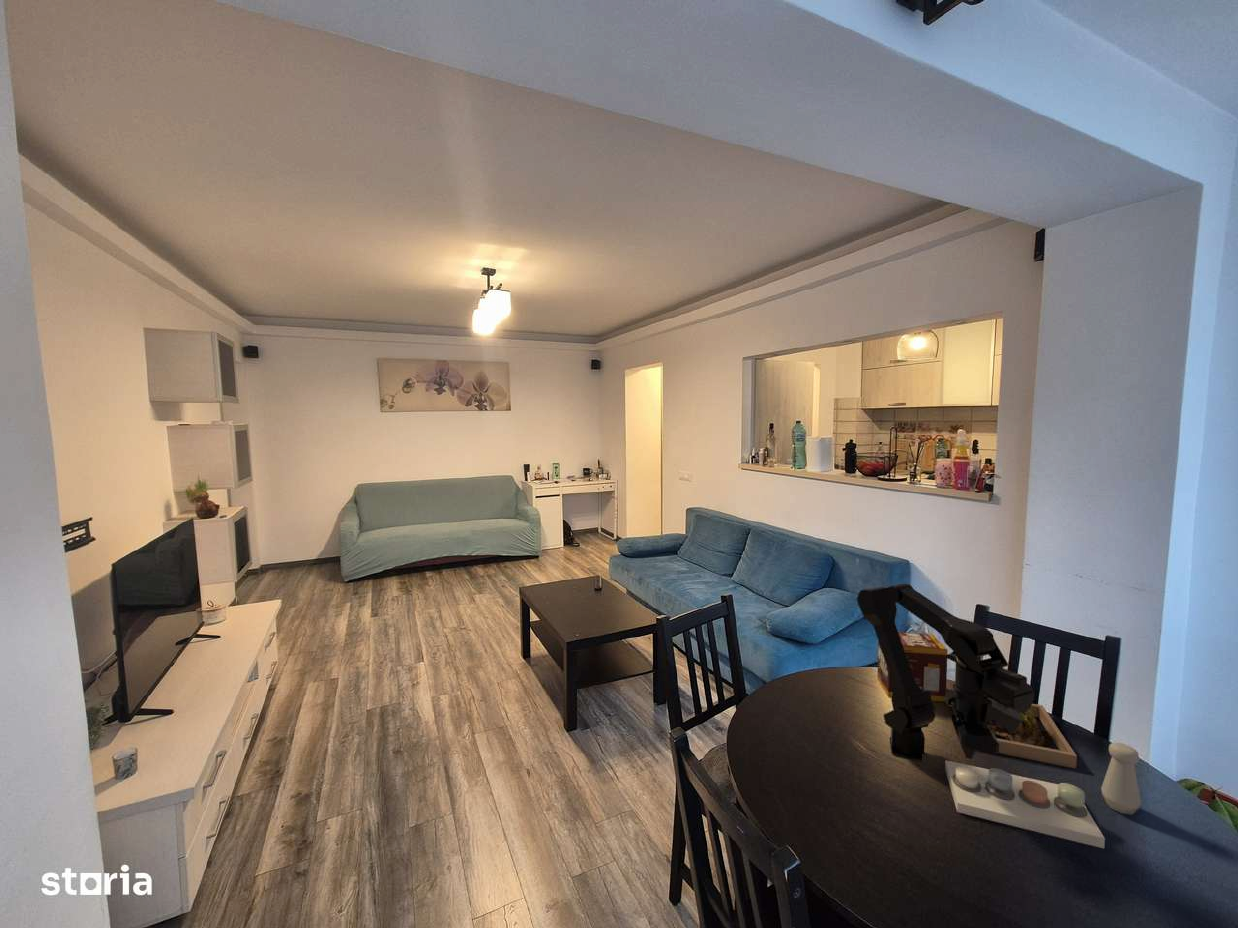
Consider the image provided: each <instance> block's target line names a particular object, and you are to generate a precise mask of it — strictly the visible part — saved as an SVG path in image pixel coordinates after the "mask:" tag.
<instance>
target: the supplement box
mask: <svg viewBox="0 0 1238 928" xmlns="http://www.w3.org/2000/svg"><path fill="white" fill-rule="evenodd" d="M898 633H899V636H900V639H901V642H902V645H903V648H904V651H905V654H906V656H907V659H908V662H909V665H910V668H911V671H912V674H913V676H914V679H915V682H916V684H917V685H918V686H919V687H920V688H921V689H922V690H923V691H924V692H925V691H928V692H929V693H930V695H931V699H932V702H933V701H934V702H946V701H945V696H946V692H947V675H948V659H947V658H946V655H947V654H948V653H949V652H948V651H949V650H948V648H946V647H945V645H944V644H943V643H942V642H940V640H939V639H938V638H937V637H936V636H935V634H933V633H921V632H903V631H898ZM877 641H878V640H877ZM876 676H877V681H878V682H879V685H880V686H881V688H882V690H883V691H884V693H885V695H886V696H887V697H888V698H892V694H893V689H894V686H893V683H892V680H891V677H890V674H889V671H888V668H887V665H886V662H885V659H884V656H883V653H882V650H881V647H880V644H879V641H878V642H877V675H876Z"/></svg>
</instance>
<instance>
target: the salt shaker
mask: <svg viewBox="0 0 1238 928" xmlns="http://www.w3.org/2000/svg"><path fill="white" fill-rule="evenodd" d="M1108 753H1109V754H1110V756H1111V759H1110V761H1109V765H1108V768H1107V771H1106V773H1105V777H1104V780H1103V783H1102V785H1101V787H1100V788H1101V789H1100V790H1101V794H1102V797H1103V798H1104V800H1105V802H1106V804H1107V805H1108V806H1109V808H1110V809H1112V810H1114V811H1116V812H1118V813H1120V814H1123V815H1129V816H1131V815H1132V816H1133V815H1134V813H1136V812H1137V811H1138V809H1140V808H1141V806H1142V800H1141V794H1140V790H1139V785H1138V780H1137V778H1138V777H1137V774H1136V773H1137V772H1136V767H1135V764H1138V762H1139V760H1140V757H1139V752H1138V751H1137V750H1136V749H1135V748H1133V747H1132V746H1130V745H1127V744H1125V743H1122V742H1112V743H1110V744H1109V746H1108Z"/></svg>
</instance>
